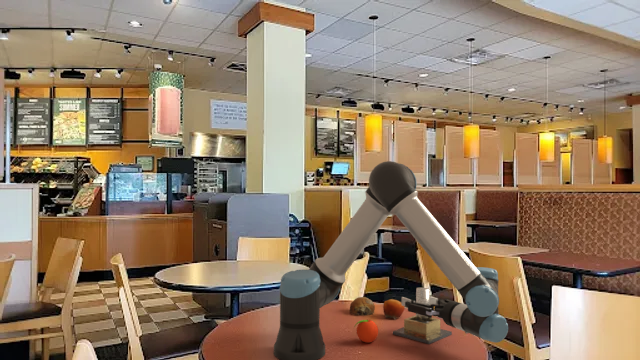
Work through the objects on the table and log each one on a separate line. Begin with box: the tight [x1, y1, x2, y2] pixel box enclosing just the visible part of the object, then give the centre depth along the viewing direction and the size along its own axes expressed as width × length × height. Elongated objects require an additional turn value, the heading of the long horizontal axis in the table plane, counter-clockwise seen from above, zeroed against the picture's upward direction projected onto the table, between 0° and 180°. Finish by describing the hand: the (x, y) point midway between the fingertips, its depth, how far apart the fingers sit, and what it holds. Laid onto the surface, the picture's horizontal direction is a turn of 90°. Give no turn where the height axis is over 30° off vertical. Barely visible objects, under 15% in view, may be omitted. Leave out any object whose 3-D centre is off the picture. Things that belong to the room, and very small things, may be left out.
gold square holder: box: [392, 314, 453, 345], centre depth 149 cm, size 14×14×5 cm
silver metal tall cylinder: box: [415, 287, 431, 323], centre depth 149 cm, size 5×5×14 cm
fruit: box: [382, 298, 405, 320], centre depth 169 cm, size 8×8×8 cm
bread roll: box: [349, 296, 376, 317], centre depth 176 cm, size 10×10×8 cm
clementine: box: [353, 319, 379, 344], centre depth 140 cm, size 8×7×7 cm
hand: (413, 299), depth 153 cm, fingers open, 9 cm apart
